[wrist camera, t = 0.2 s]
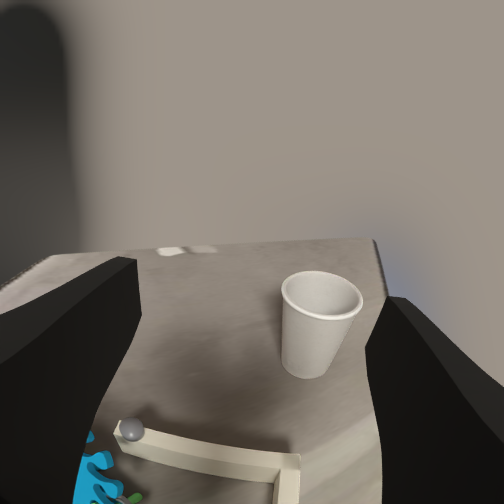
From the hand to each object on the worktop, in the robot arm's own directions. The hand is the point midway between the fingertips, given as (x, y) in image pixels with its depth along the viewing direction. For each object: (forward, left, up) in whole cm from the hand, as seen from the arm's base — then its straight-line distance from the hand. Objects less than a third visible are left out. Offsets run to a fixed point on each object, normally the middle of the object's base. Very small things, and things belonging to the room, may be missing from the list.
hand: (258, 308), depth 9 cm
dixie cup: (+20, -6, -22) cm, 30 cm away
